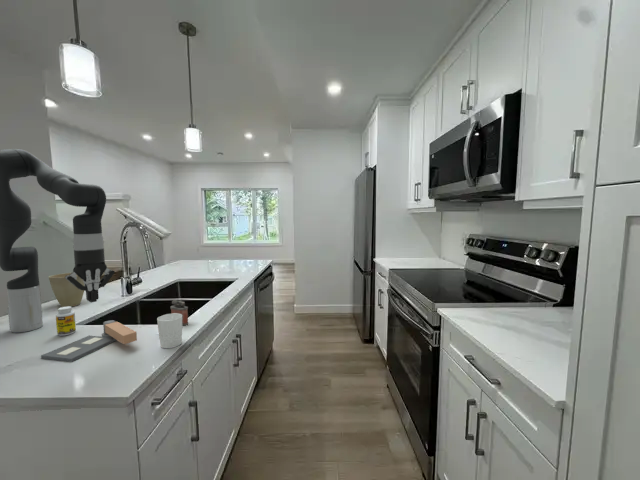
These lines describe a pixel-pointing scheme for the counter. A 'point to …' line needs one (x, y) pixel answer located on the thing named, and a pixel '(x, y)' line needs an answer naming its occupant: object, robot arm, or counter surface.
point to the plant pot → (66, 290)
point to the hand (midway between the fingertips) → (92, 301)
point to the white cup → (170, 330)
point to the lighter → (180, 311)
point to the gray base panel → (79, 348)
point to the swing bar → (119, 332)
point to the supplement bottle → (65, 321)
